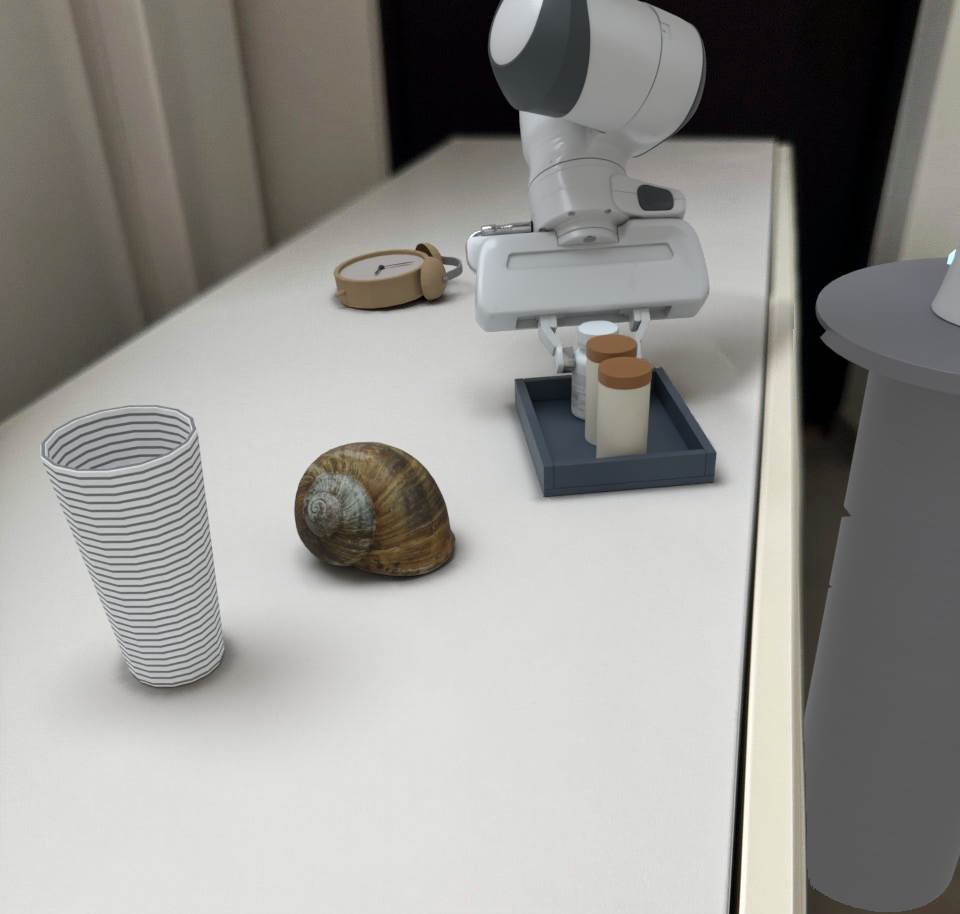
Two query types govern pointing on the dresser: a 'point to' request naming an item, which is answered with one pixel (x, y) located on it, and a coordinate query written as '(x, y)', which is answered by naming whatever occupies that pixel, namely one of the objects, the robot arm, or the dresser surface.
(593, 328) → the pill bottle
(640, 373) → the matching bottles
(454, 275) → the alarm clock
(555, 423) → the tray
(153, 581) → the cup
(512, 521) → the dresser surface
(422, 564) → the seashell
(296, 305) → the dresser surface
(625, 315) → the robot arm
